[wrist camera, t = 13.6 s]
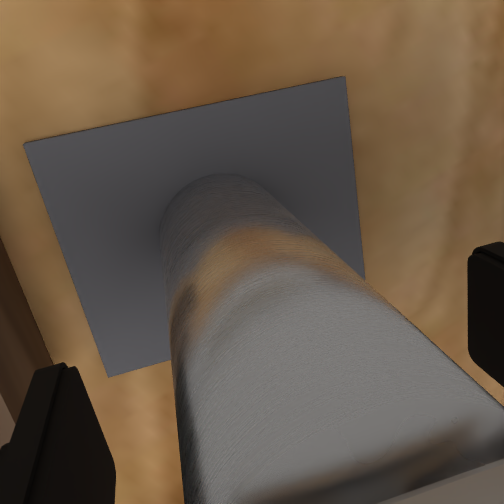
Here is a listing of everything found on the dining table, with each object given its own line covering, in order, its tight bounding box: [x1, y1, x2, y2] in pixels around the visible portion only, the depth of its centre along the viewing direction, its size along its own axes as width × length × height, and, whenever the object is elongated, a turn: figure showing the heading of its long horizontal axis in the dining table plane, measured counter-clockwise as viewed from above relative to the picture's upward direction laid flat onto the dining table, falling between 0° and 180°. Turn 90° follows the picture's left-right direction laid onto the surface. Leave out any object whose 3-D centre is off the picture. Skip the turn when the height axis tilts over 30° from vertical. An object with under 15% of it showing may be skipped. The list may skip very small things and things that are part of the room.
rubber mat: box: [23, 76, 365, 378], centre depth 19 cm, size 12×10×1 cm
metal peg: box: [160, 174, 504, 504], centre depth 12 cm, size 5×5×14 cm
